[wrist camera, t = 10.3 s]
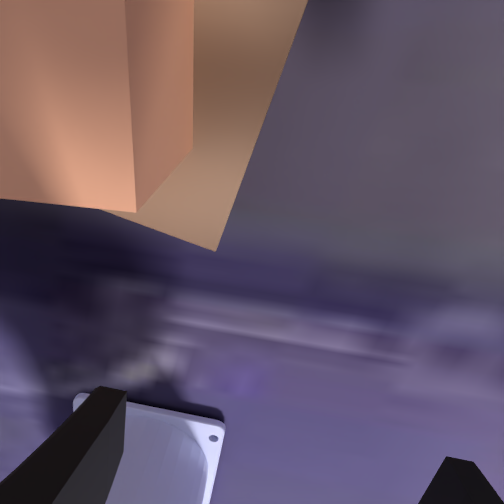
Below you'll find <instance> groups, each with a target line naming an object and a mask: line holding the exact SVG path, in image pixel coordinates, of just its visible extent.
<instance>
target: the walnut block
mask: <svg viewBox="0 0 504 504" xmlns="http://www.w3.org/2000/svg"><path fill="white" fill-rule="evenodd" d="M307 2H308V0H194V57H193V148H192V150H191V151H190V152H189V153H188V154H187V155H186V156H185V158H184V159H183V160H182V161H181V162H180V163H179V165H178V166H177V167H176V168H175V169H174V170H173V171H172V173H171V174H170V175H169V176H168V177H167V178H166V179H165V181H164V182H163V183H162V184H161V185H160V186H159V187H158V189H157V190H156V191H155V192H154V193H153V194H152V195H151V197H150V198H149V199H148V200H147V201H146V202H145V204H144V205H143V206H142V207H141V208H140V209H139V210H138V212H137V213H134V212H125V211H115V210H106V209H100V210H103V211H106V212H109V213H111V214H114V215H117V216H119V217H122V218H125V219H128V220H130V221H133V222H136V223H139V224H141V225H144V226H147V227H150V228H152V229H155V230H158V231H160V232H163V233H166V234H169V235H171V236H174V237H177V238H180V239H182V240H185V241H188V242H190V243H193V244H196V245H199V246H201V247H204V248H207V249H210V250H212V251H215V252H216V249H217V246H218V244H219V241H220V238H221V236H222V233H223V230H224V228H225V225H226V222H227V220H228V217H229V214H230V212H231V209H232V206H233V203H234V201H235V198H236V195H237V192H238V190H239V187H240V184H241V182H242V179H243V176H244V173H245V171H246V168H247V165H248V163H249V160H250V157H251V154H252V152H253V149H254V146H255V144H256V141H257V138H258V135H259V133H260V130H261V127H262V125H263V122H264V119H265V116H266V114H267V111H268V108H269V105H270V103H271V100H272V97H273V95H274V92H275V89H276V86H277V84H278V81H279V78H280V76H281V73H282V70H283V67H284V65H285V62H286V59H287V57H288V54H289V51H290V48H291V46H292V43H293V40H294V38H295V35H296V32H297V29H298V27H299V24H300V21H301V18H302V16H303V13H304V10H305V8H306V5H307Z"/></svg>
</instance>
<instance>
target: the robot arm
mask: <svg viewBox="0 0 504 504" xmlns="http://www.w3.org/2000/svg"><path fill="white" fill-rule="evenodd" d="M224 434H225V425H224V423H223V422H221V421H219V420H215V419H210V418H205V417H200V416H196V415H191V414H186V413H181V412H176V411H171V410H166V409H161V408H156V407H151V406H146V405H141V404H137V403H132V402H127V391H123V390H118V389H113V388H108V387H103V386H99V387H97V388H95V389H94V390H93V392H92V393H91V394H87V393H79V394H77V395H76V397H75V399H74V401H73V413H72V414H71V415H70V416H69V417H68V418H67V420H66V421H65V422H64V423H63V424H62V425H61V426H60V427H59V428H58V429H57V430H56V431H55V432H54V433H53V434H52V435H51V436H50V437H49V438H48V439H47V440H46V441H44V442H43V443H42V444H41V445H40V446H39V447H38V448H37V449H36V450H35V451H34V452H33V453H32V454H31V455H30V456H29V457H28V458H27V459H26V460H25V461H23V462H22V463H21V464H20V465H19V466H18V467H17V468H16V469H15V470H14V471H13V472H12V473H11V474H9V475H8V476H7V477H6V478H5V479H4V480H3V481H2V482H0V504H209V502H210V498H211V493H212V489H213V484H214V479H215V475H216V470H217V466H218V461H219V457H220V452H221V447H222V443H223V438H224ZM214 435H215V436H214ZM418 504H504V502H503V501H502V500H501V498H500V497H499V496H498V494H497V493H496V491H495V490H494V489H493V487H492V486H491V485H490V483H489V482H488V481H487V479H486V478H485V476H484V475H483V474H482V472H481V471H480V470H479V469H478V467H477V466H476V465H475V463H474V462H472V461H467V460H462V459H457V458H452V457H447V456H446V458H445V459H444V461H443V463H442V464H441V466H440V468H439V469H438V471H437V473H436V475H435V476H434V478H433V480H432V481H431V483H430V485H429V486H428V488H427V490H426V491H425V493H424V495H423V496H422V498H421V500H420V501H419V503H418Z"/></svg>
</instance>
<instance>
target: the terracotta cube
mask: <svg viewBox="0 0 504 504" xmlns="http://www.w3.org/2000/svg"><path fill="white" fill-rule="evenodd" d="M193 57H194V0H0V198H1V199H10V200H20V201H29V202H39V203H48V204H58V205H68V206H77V207H87V208H96V209H106V210H115V211H125V212H134V213H137V212H138V210H139V209H140V208H141V207H142V206H143V205H144V204H145V202H146V201H147V200H148V199H149V198H150V197H151V195H152V194H153V193H154V192H155V191H156V190H157V189H158V187H159V186H160V185H161V184H162V183H163V182H164V181H165V179H166V178H167V177H168V176H169V175H170V174H171V173H172V171H173V170H174V169H175V168H176V167H177V166H178V165H179V163H180V162H181V161H182V160H183V159H184V158H185V156H186V155H187V154H188V153H189V152H190V151H191V150H192V148H193Z"/></svg>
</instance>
